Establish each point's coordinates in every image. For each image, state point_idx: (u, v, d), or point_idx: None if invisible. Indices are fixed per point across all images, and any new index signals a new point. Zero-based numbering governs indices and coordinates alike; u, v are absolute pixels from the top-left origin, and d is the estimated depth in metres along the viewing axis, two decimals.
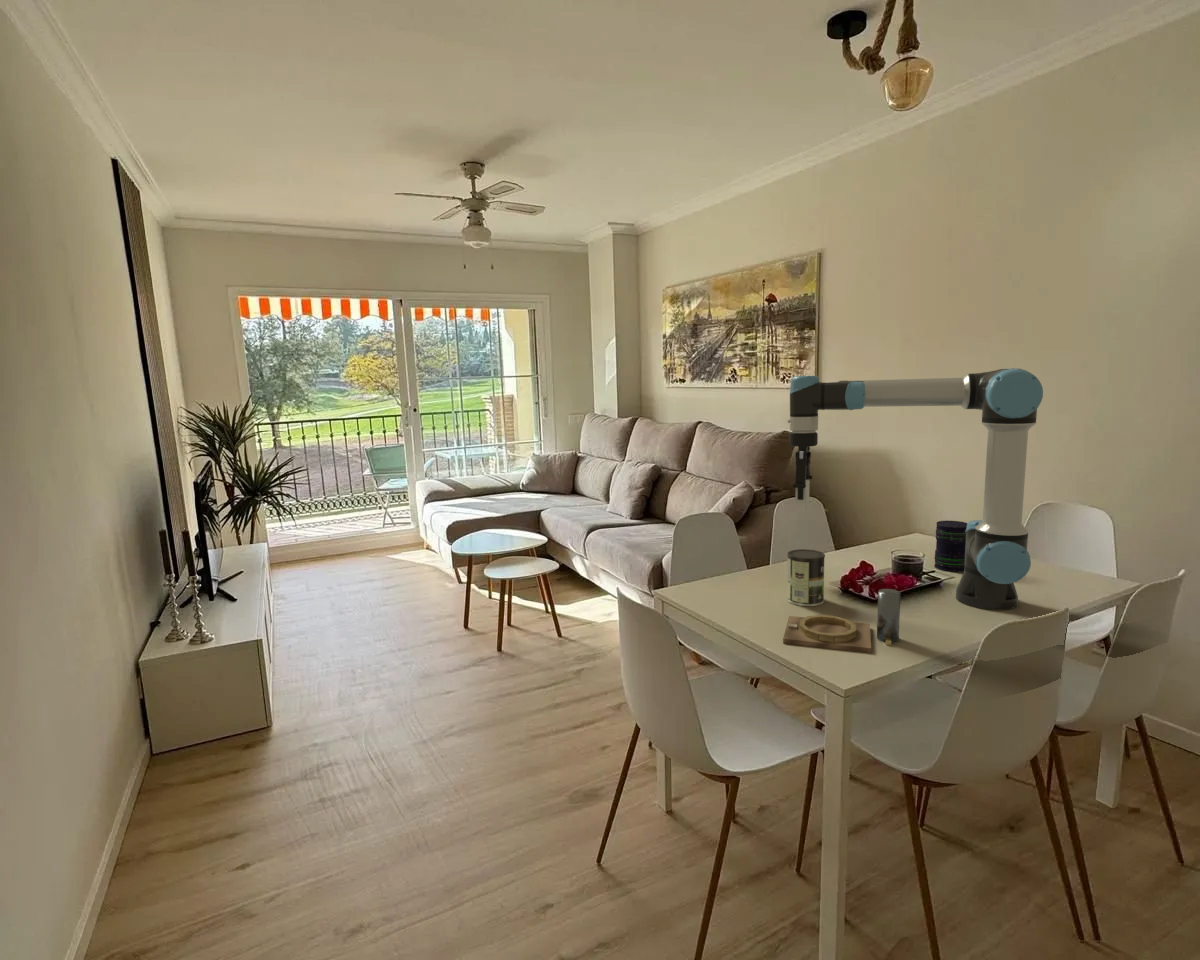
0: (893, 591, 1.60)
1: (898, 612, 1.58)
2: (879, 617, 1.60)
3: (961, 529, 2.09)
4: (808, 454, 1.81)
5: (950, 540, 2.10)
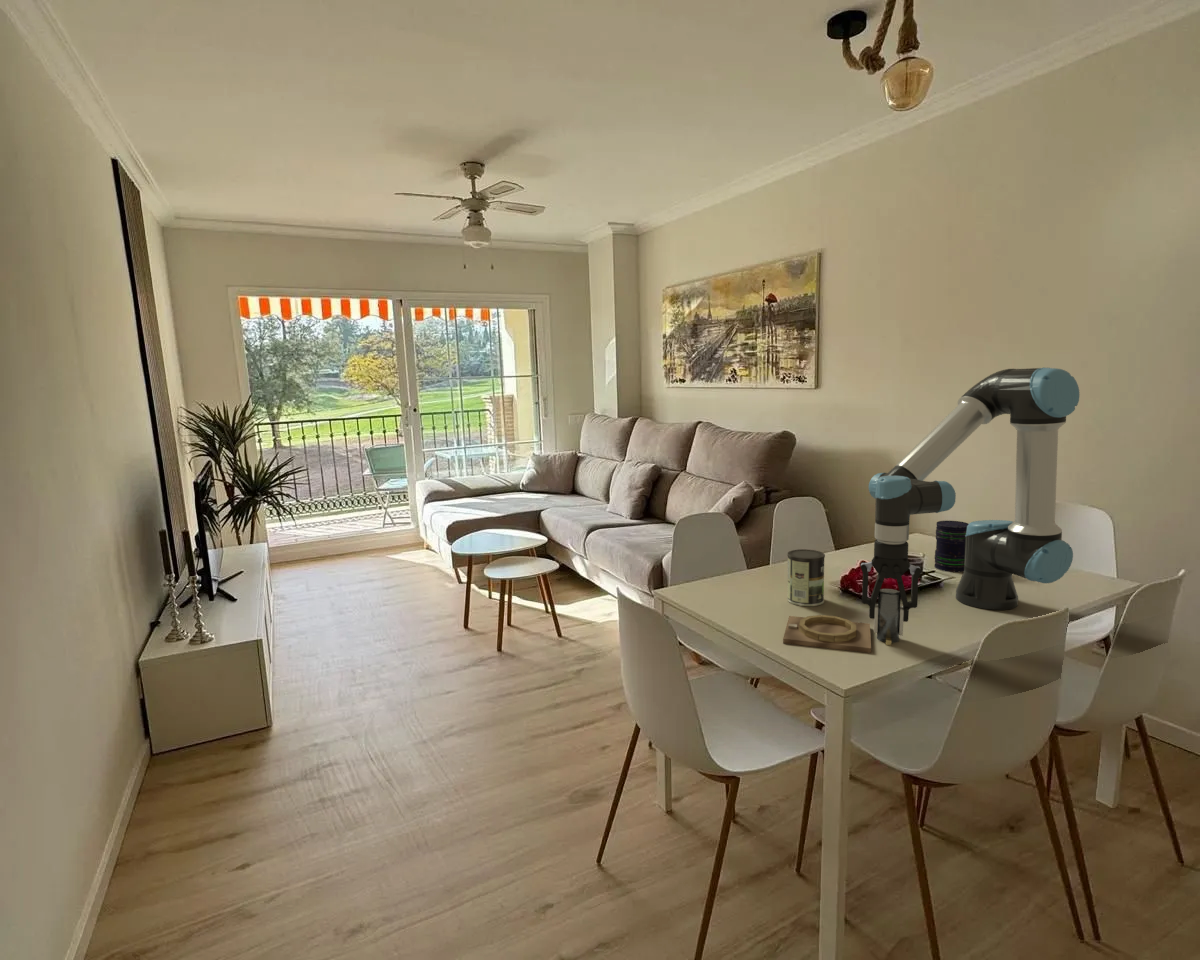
0: (893, 591, 1.60)
1: (898, 612, 1.58)
2: (879, 617, 1.60)
3: (961, 529, 2.09)
4: (882, 566, 1.57)
5: (950, 540, 2.10)
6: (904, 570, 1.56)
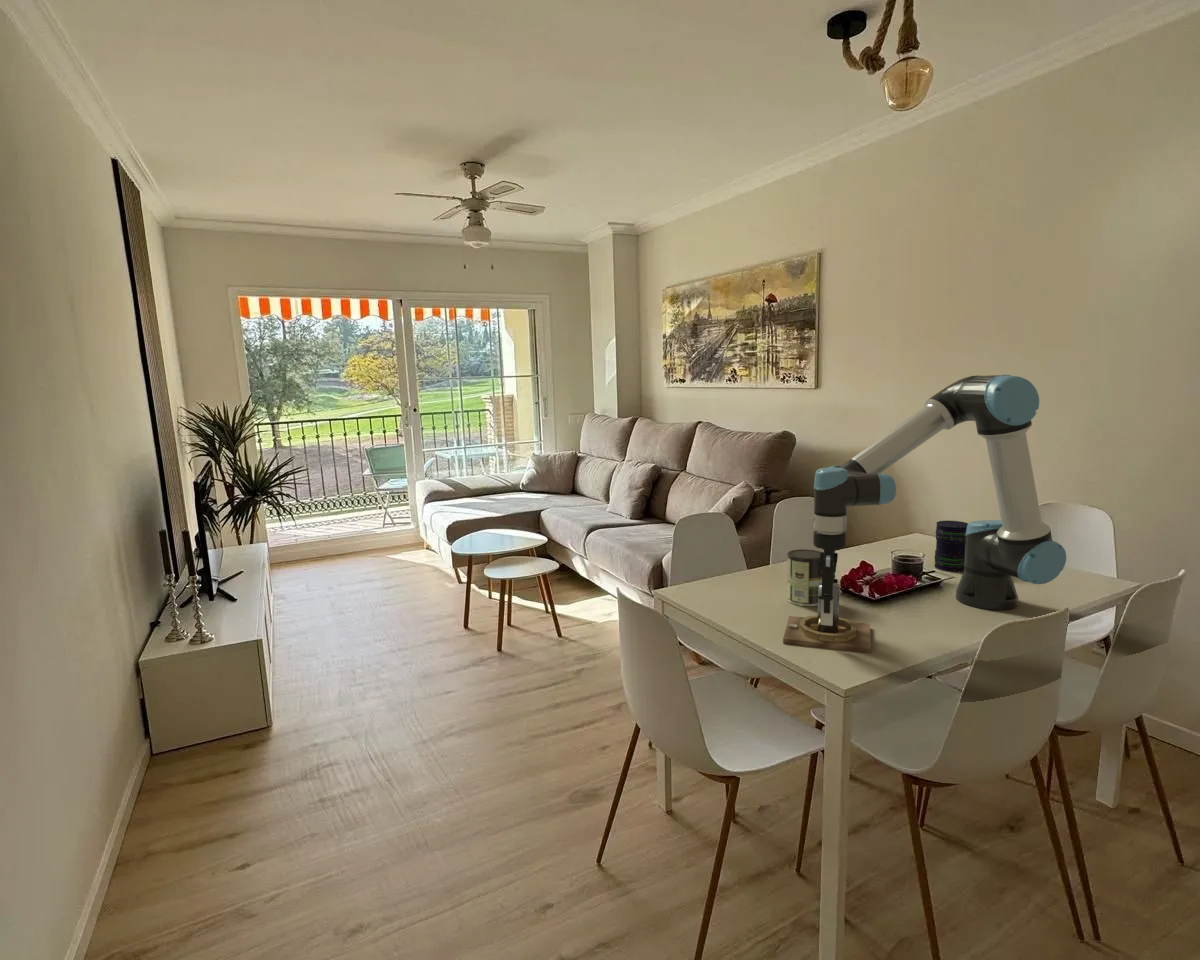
0: None
1: None
2: (833, 612, 1.61)
3: (961, 529, 2.09)
4: (835, 557, 1.59)
5: (950, 540, 2.10)
6: None
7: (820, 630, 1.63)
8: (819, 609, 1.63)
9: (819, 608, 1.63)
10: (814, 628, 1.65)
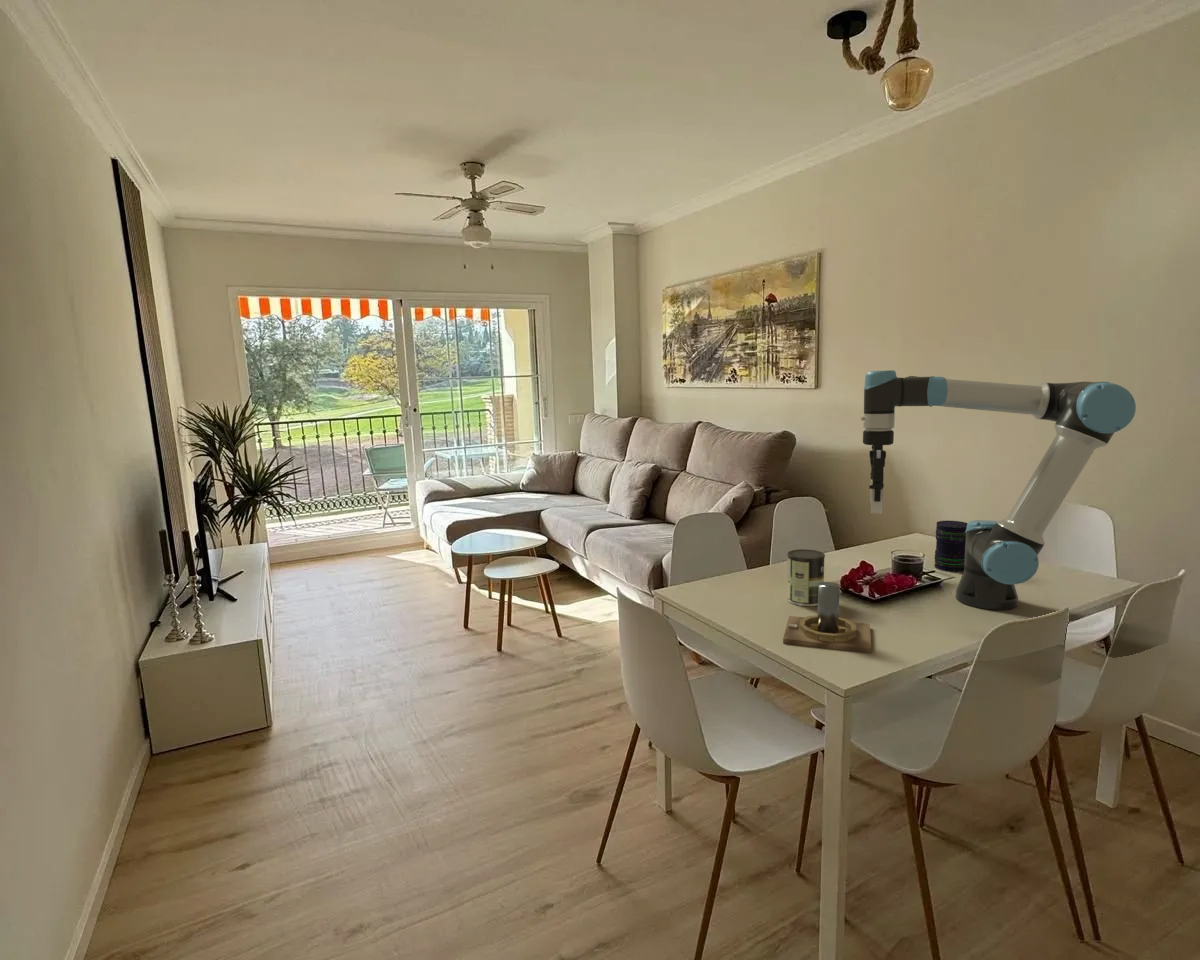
0: (825, 583, 1.63)
1: None
2: (833, 612, 1.61)
3: (961, 529, 2.09)
4: (884, 453, 1.72)
5: (950, 540, 2.10)
6: None
7: (820, 630, 1.63)
8: (819, 609, 1.63)
9: (819, 608, 1.63)
10: (814, 628, 1.65)
